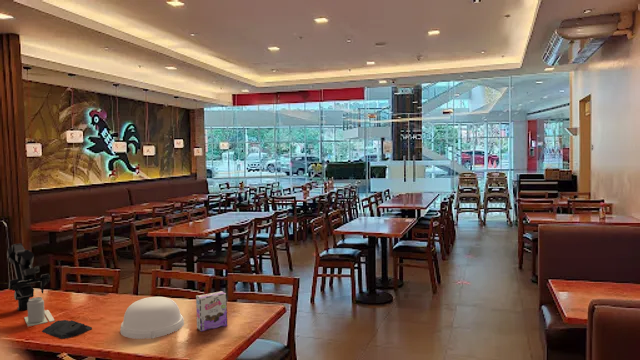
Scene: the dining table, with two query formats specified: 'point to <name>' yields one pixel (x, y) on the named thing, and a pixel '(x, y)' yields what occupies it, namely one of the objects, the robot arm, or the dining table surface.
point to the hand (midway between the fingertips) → (32, 294)
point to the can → (36, 310)
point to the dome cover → (151, 318)
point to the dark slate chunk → (66, 329)
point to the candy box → (211, 310)
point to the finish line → (49, 315)
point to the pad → (34, 323)
